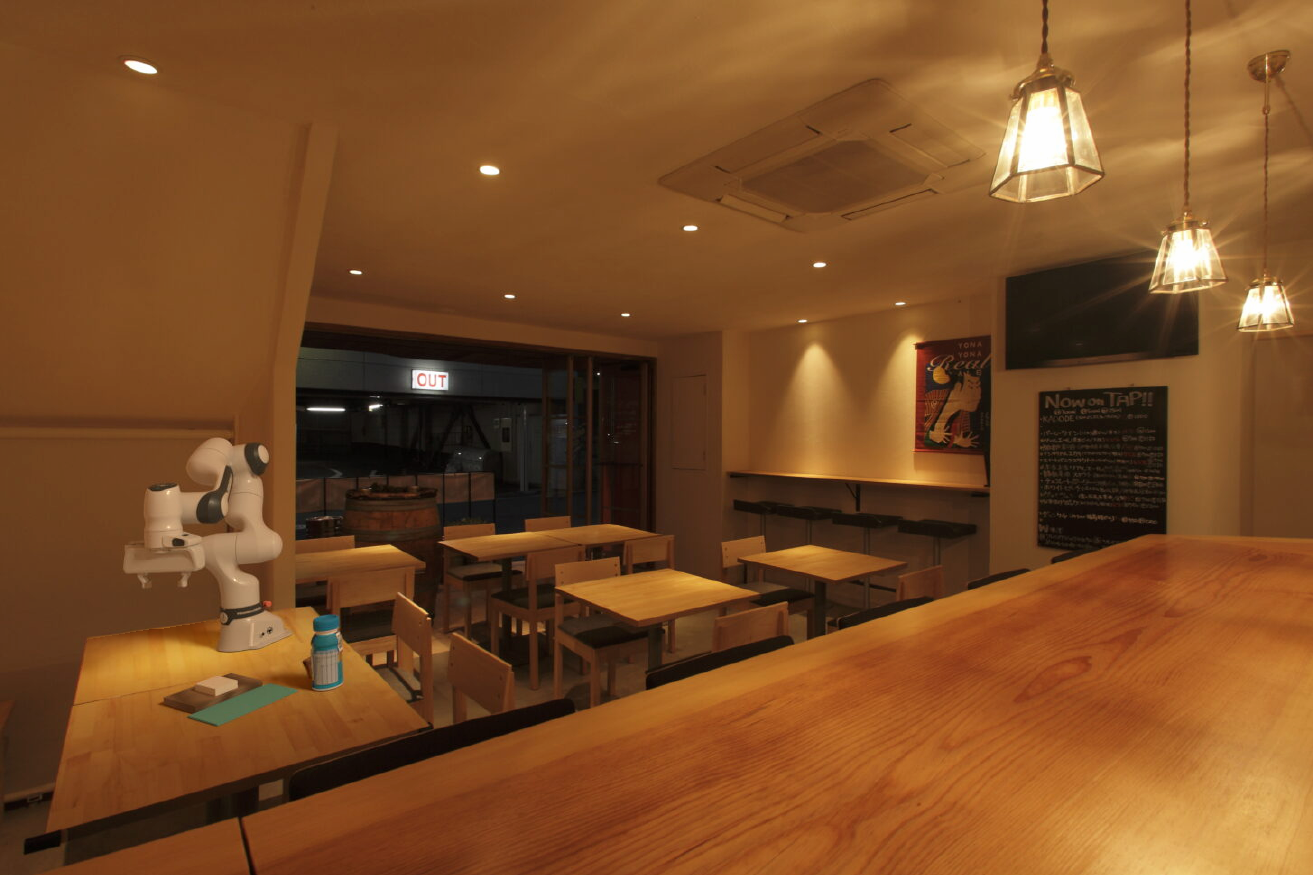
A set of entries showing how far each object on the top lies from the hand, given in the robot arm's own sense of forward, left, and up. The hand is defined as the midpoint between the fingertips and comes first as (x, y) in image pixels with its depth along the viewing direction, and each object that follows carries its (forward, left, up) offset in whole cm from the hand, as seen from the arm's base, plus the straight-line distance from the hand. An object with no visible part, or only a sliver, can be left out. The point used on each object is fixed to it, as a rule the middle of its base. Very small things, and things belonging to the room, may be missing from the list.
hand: (164, 587), depth 182 cm
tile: (-2, +20, -27) cm, 34 cm away
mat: (-2, +32, -29) cm, 43 cm away
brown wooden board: (-2, +19, -29) cm, 35 cm away
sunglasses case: (-28, +28, -30) cm, 50 cm away
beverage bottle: (-19, +43, -29) cm, 55 cm away
